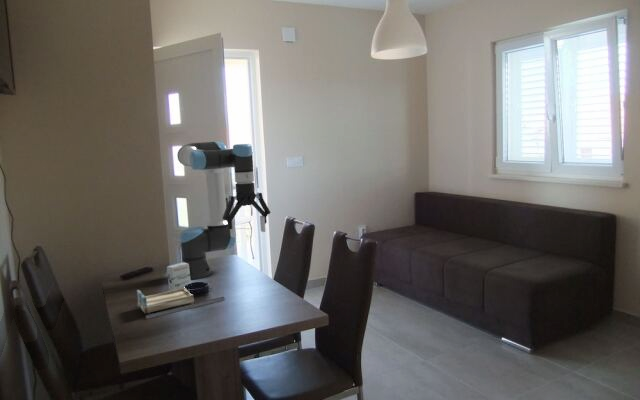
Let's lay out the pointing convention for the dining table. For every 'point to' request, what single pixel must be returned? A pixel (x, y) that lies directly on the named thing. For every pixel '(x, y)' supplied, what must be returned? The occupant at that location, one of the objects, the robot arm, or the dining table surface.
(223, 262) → the dining table surface
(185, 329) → the dining table surface
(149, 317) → the track
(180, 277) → the ink box
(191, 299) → the wooden tray
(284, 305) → the dining table surface
